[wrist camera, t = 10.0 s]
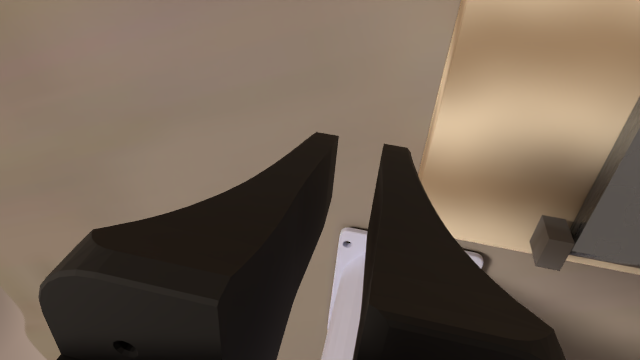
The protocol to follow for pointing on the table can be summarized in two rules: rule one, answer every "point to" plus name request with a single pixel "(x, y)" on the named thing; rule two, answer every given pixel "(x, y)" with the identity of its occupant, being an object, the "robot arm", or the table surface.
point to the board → (530, 119)
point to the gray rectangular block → (613, 204)
